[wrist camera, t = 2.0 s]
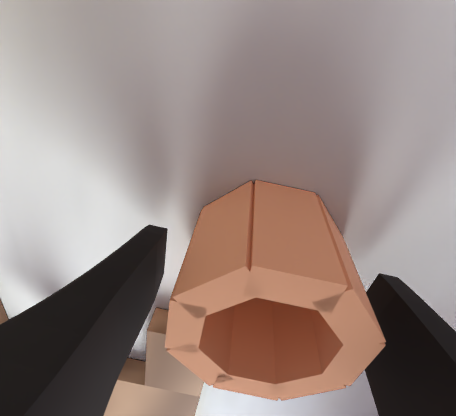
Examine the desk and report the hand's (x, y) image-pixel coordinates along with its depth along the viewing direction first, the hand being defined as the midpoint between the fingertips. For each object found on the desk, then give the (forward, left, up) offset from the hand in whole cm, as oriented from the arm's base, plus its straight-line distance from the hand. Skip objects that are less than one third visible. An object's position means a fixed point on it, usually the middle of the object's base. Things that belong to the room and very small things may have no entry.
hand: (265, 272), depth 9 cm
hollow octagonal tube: (0, 0, -1) cm, 1 cm away
